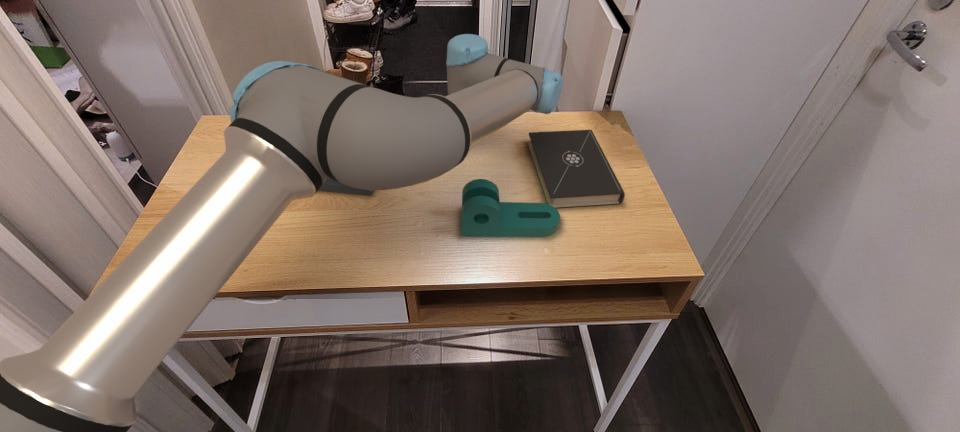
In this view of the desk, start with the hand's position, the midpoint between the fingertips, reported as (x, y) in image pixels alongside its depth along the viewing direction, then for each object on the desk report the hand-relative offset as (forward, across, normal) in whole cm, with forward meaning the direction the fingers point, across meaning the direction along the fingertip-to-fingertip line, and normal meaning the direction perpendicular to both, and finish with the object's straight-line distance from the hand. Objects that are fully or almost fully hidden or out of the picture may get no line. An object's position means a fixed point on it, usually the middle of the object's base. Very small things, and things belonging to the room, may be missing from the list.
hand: (307, 131), depth 87 cm
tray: (-3, 0, -10) cm, 10 cm away
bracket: (-34, -23, -10) cm, 42 cm away
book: (-52, -11, -10) cm, 54 cm away
